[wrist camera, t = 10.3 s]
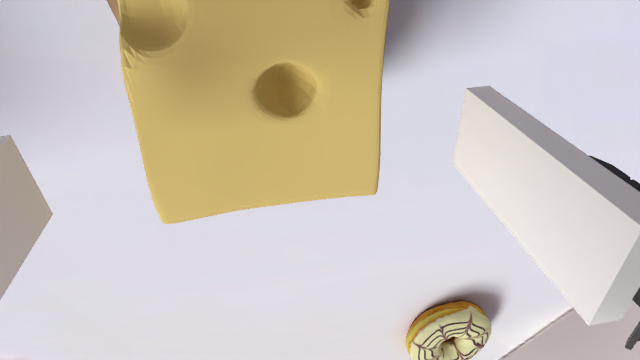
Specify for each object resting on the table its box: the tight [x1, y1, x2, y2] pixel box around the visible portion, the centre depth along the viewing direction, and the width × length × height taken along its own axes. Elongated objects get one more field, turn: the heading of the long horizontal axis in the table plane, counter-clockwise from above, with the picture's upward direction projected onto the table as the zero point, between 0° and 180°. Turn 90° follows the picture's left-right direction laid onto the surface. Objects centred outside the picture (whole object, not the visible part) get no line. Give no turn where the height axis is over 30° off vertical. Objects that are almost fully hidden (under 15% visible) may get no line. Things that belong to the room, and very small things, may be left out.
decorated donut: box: [406, 301, 491, 360], centre depth 50 cm, size 10×11×4 cm
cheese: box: [117, 0, 390, 224], centre depth 20 cm, size 10×11×10 cm
